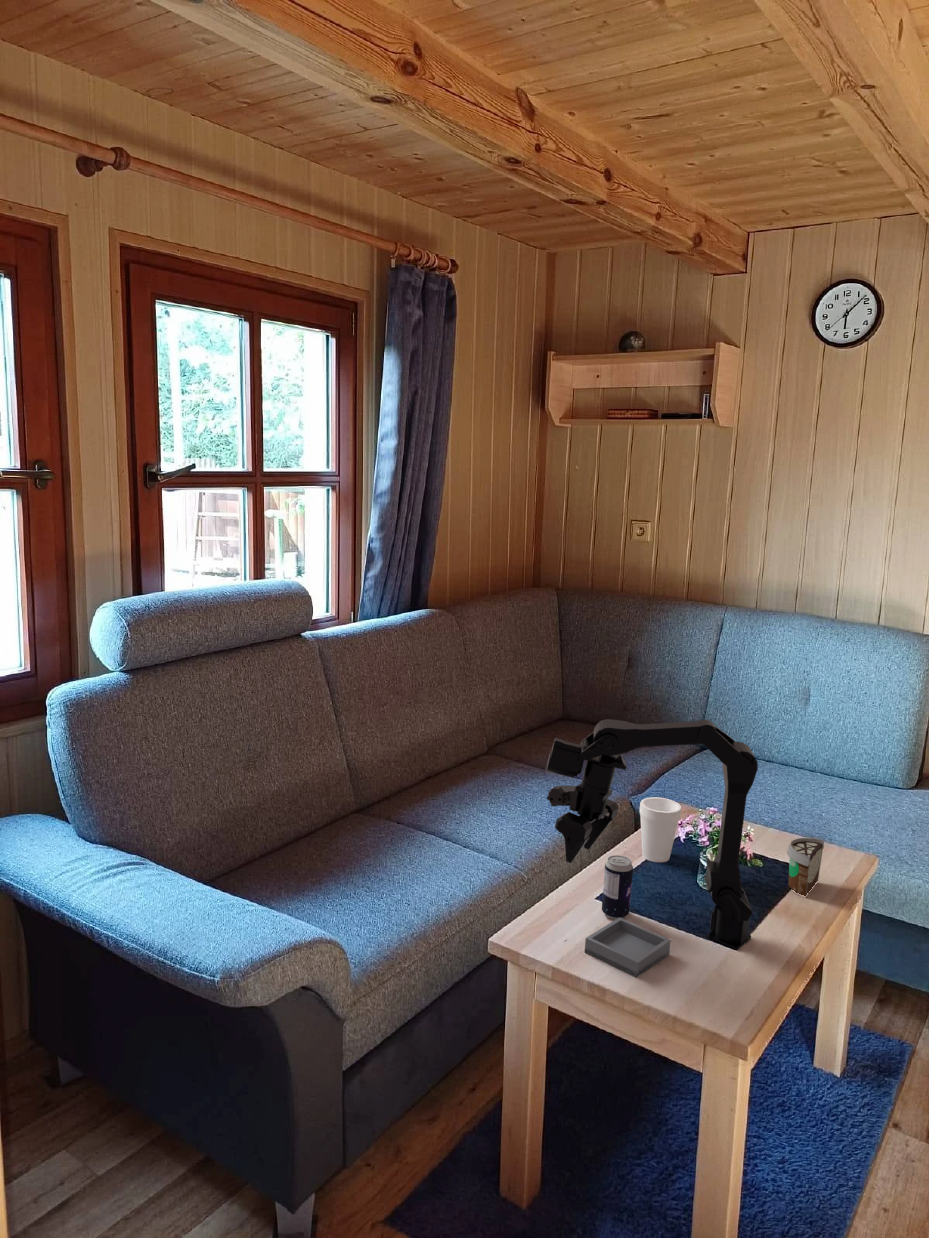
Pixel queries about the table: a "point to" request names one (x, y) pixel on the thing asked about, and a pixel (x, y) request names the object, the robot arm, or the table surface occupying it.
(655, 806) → the foam cup
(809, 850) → the food container
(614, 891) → the beverage can
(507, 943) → the table surface
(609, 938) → the tray
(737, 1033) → the table surface
